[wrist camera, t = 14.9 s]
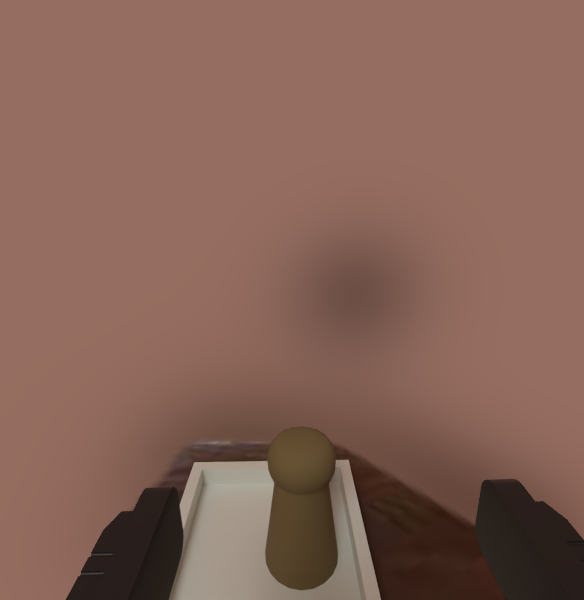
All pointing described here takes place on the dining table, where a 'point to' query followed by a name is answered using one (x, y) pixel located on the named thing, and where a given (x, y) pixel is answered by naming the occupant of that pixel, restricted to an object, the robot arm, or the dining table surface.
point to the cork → (301, 509)
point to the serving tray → (260, 538)
